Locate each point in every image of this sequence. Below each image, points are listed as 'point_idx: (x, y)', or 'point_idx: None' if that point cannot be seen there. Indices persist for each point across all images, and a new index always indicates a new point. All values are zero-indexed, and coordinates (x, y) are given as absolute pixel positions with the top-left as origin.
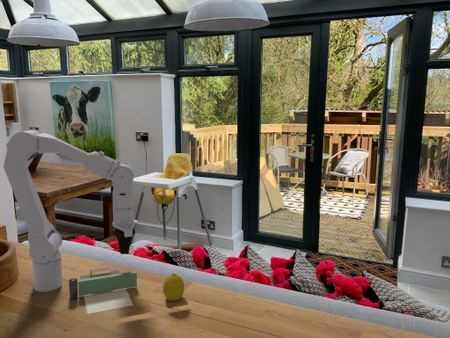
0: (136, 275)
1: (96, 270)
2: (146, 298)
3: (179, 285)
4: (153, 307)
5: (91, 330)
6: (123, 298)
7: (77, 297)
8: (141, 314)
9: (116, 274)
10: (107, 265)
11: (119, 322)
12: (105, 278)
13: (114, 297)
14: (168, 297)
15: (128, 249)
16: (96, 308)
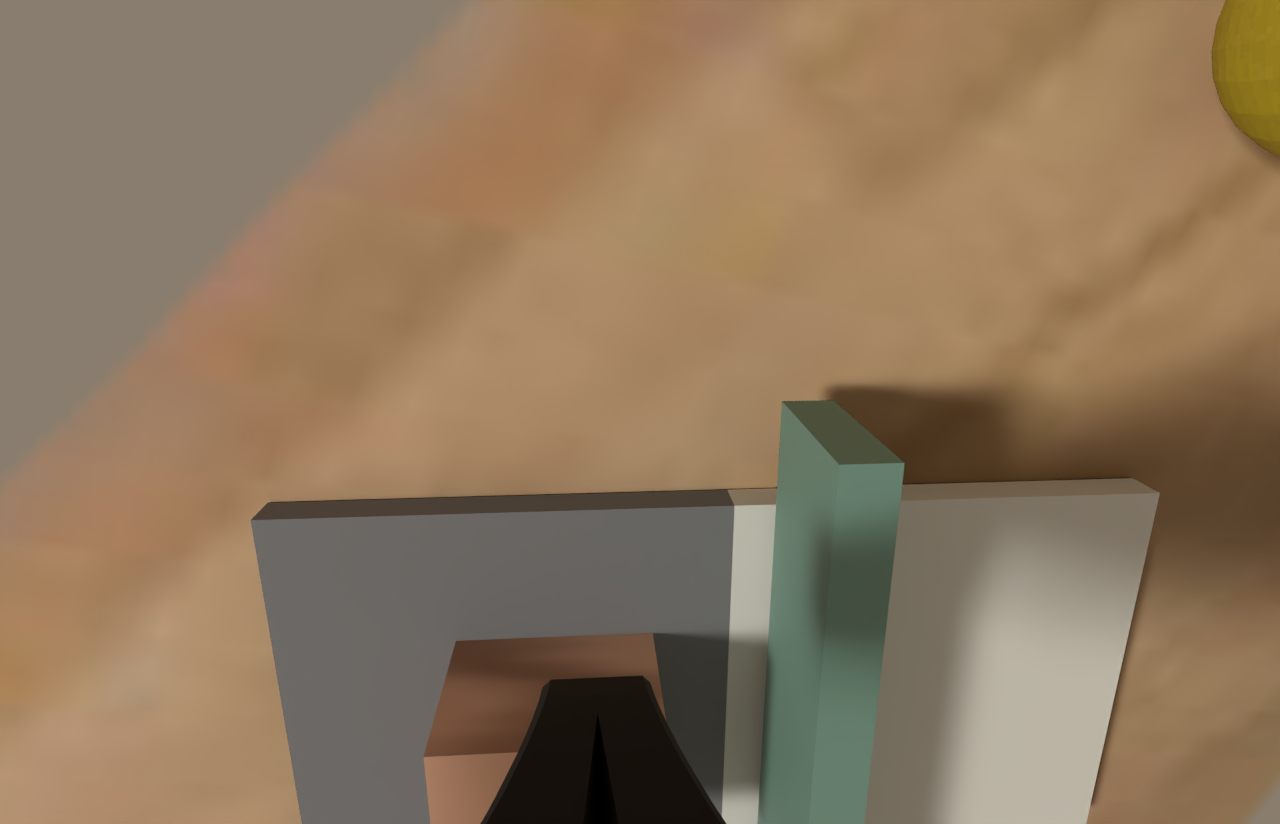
0: (887, 450)
1: None
2: (1010, 319)
3: None
4: (1215, 294)
5: (1238, 785)
6: (985, 556)
7: None
8: (1261, 427)
9: (831, 711)
10: (427, 766)
11: (1262, 609)
12: (861, 820)
13: (922, 628)
14: None
15: (673, 742)
16: (1039, 773)
